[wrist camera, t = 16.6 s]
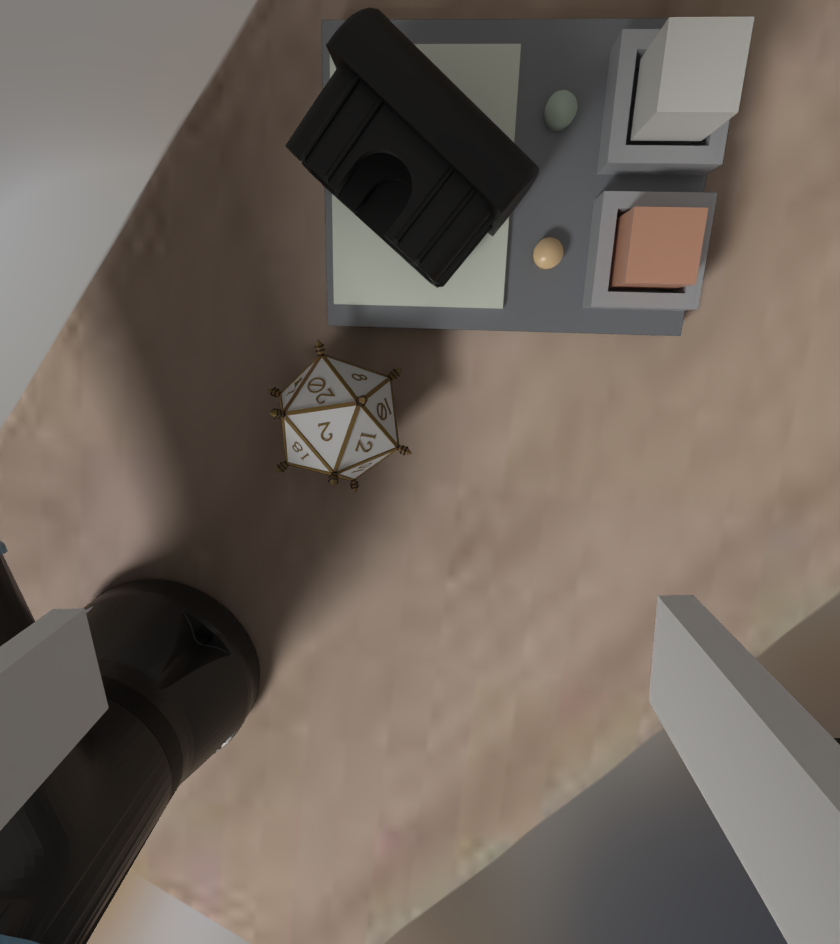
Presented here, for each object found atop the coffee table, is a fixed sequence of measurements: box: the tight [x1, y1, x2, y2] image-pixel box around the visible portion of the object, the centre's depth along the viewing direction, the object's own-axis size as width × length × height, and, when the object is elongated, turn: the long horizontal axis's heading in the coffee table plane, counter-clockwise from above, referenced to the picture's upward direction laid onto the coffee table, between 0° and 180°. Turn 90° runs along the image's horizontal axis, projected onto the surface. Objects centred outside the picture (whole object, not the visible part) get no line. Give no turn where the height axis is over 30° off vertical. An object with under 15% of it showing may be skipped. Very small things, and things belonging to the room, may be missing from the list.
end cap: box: [286, 8, 539, 288], centre depth 25 cm, size 10×7×7 cm
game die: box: [268, 340, 412, 491], centre depth 31 cm, size 9×8×10 cm
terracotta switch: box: [608, 207, 708, 290], centre depth 27 cm, size 4×4×4 cm
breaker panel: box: [321, 18, 730, 336], centre depth 28 cm, size 21×16×4 cm
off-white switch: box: [630, 17, 754, 141], centre depth 24 cm, size 4×4×4 cm
